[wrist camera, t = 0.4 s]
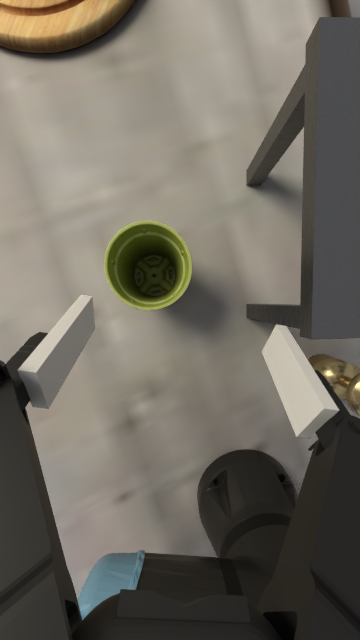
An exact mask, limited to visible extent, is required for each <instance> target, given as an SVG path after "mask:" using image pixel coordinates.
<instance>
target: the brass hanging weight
mask: <svg viewBox="0 0 360 640" xmlns="http://www.w3.org/2000/svg"><path fill="white" fill-rule="evenodd" d="M308 361H309V363H310V365H311V366H312V368H313V369H314V370H318V371H319V372H320V373H321V374H322V375H323V376H325V378H326V379H327V381H328V382H329V384H330V386H331V387H332V388H333V390H334V392H335V393H336V394H337V396H338V397H339V399H340V400H347V402H348V405H349V406H350V408H351V409H352V410H353V411H354V412H355V413H357V414H359V415H360V369H359V368H358V367H357V366H356V365H353V364H351V363H348V362H345V361H342V360H339V359H336V358H333V357H330V356H328V355H325V354H317V355H314V356H312V357H311V358H310V359H309V360H308Z"/></svg>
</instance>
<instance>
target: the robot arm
mask: <svg viewBox="0 0 360 640" xmlns="http://www.w3.org/2000/svg"><path fill="white" fill-rule="evenodd" d="M94 329H95V321H94V310H93V298H92V296H86V295H80V296H79V298H78V299H77V300H76V301H75V302H74V303H73V305H72V306H71V307H70V308H69V309H68V311H67V312H66V313H65V314H64V315H63V317H62V318H61V319H60V320H59V321H58V322H57V324H56V325H55V326H54V327H53V328H52V330H51V331H50V332H49V333H42V332H39V333H37V334H36V335H34V336H32V337H30V338H29V339H28V341H27V342H26V343H25V344H24V346H22V347H21V348H20V349H19V351H17V352H16V354H15V355H14V356H13V357H12V358H11V359H10V360H9V361H8V362H7V363H6V364H5V363H4V362H3V361H0V640H360V419H359V418H357V417H355V416H351V415H350V414H349V412H348V411H347V409H346V408H345V406H344V405H343V403H342V402H341V400H340V399H339V397H338V396H337V394H336V393H335V392H334V390H333V388H332V387H331V386H330V384H329V382H328V381H327V379H326V378H325V376H323V375H322V374H321V373H320V372H319V371H318V370H314V369H313V368H312V366H311V365H310V363H309V361H308V360H307V358H306V357H305V355H304V353H303V352H302V350H301V349H300V347H299V346H298V344H297V342H296V341H295V339H294V338H293V336H292V334H291V333H290V331H289V330H288V328H287V326H283V325H276V326H275V328H274V330H273V331H272V333H271V335H270V337H269V339H268V341H267V343H266V345H265V346H264V348H263V350H262V354H263V356H264V359H265V361H266V364H267V366H268V368H269V371H270V373H271V376H272V378H273V381H274V383H275V386H276V388H277V391H278V393H279V395H280V398H281V400H282V403H283V405H284V408H285V410H286V413H287V415H288V418H289V420H290V422H291V425H292V427H293V430H294V432H295V435H296V437H302V438H311V437H312V436H313V435H314V434H315V433H316V434H317V436H318V438H319V439H318V440H317V441H316V442H315V443H314V444H313V445H312V446H310V448H309V449H308V450H310V451H311V450H312V449H313V448H314V449H313V452H312V455H311V458H310V462H309V465H308V468H307V471H306V474H305V477H304V480H303V484H302V487H301V490H300V493H299V496H298V497H297V494H296V490H295V488H294V485H293V483H292V481H291V479H290V478H289V476H288V475H287V473H286V472H285V470H284V469H283V467H282V466H281V465H280V464H279V463H278V462H277V461H276V460H275V459H274V458H272V457H271V456H269V455H267V454H265V453H262V452H259V451H255V450H237V451H233V452H230V453H227V454H225V455H223V456H221V457H219V458H218V459H216V460H215V461H214V462H213V463H212V464H211V465H210V466H209V467H208V468H207V469H206V471H205V472H204V474H203V475H202V477H201V480H200V482H199V486H198V493H197V498H198V507H199V514H200V518H201V522H202V524H203V527H204V529H205V531H206V533H207V535H208V538H209V540H210V542H211V544H212V546H213V548H214V551H215V553H216V555H217V557H218V558H215V557H201V556H186V555H170V554H155V553H145V551H143V550H140V551H138V552H137V553H111V554H107V555H105V556H103V557H102V558H101V559H100V560H99V561H98V562H97V563H96V564H95V565H94V567H93V569H92V570H91V572H90V574H89V576H88V578H87V580H86V582H85V584H84V586H83V589H82V591H81V593H80V596H79V598H78V601H77V597H76V593H75V590H74V586H73V583H72V580H71V577H70V574H69V571H68V568H67V565H66V562H65V558H64V554H63V550H62V546H61V542H60V539H59V535H58V531H57V527H56V523H55V519H54V515H53V512H52V508H51V504H50V500H49V496H48V492H47V488H46V485H45V481H44V477H43V473H42V469H41V465H40V461H39V458H38V454H37V450H36V446H35V442H34V438H33V434H32V431H31V427H30V423H29V419H28V415H27V411H26V409H25V407H26V405H27V404H28V403H29V401H30V402H31V404H32V406H33V407H37V408H46V409H49V407H50V405H51V404H52V402H53V400H54V398H55V397H56V395H57V393H58V392H59V390H60V388H61V386H62V385H63V383H64V381H65V379H66V378H67V376H68V374H69V372H70V371H71V369H72V367H73V365H74V364H75V362H76V360H77V359H78V357H79V355H80V353H81V352H82V350H83V348H84V346H85V345H86V343H87V341H88V339H89V338H90V336H91V334H92V333H93V331H94Z"/></svg>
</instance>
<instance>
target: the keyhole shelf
mask: <svg viewBox="0 0 360 640" xmlns="http://www.w3.org/2000/svg"><path fill="white" fill-rule="evenodd" d="M303 127H304V161H303V208H302V256H301V304H300V305H288V304H247V318H251V319H256V320H261V321H265V322H270V323H275V324H279V325H284V326H289V327H293V328H298V329H300V336H301V337H304V338H308V339H342V338H360V18H343V17H320V18H319V20H318V22H317V23H316V25H315V27H314V29H313V31H312V33H311V35H310V37H309V39H308V41H307V43H306V64H305V66H304V68H303V69H302V71H301V73H300V75H299V77H298V79H297V80H296V82H295V84H294V86H293V88H292V89H291V91H290V93H289V95H288V97H287V98H286V100H285V102H284V104H283V106H282V108H281V109H280V111H279V113H278V115H277V117H276V118H275V120H274V122H273V124H272V126H271V127H270V129H269V131H268V133H267V135H266V136H265V138H264V140H263V142H262V144H261V146H260V147H259V149H258V151H257V153H256V155H255V156H254V158H253V160H252V162H251V164H250V165H249V167H248V169H247V185H261V184H262V182H263V181H264V180H265V178H266V177H267V176H268V174H269V173H270V172H271V170H272V169H273V168H274V166H275V165H276V163H277V162H278V161H279V159H280V158H281V157H282V155H283V154H284V153H285V151H286V150H287V149H288V147H289V146H290V145H291V143H292V142H293V140H294V139H295V138H296V136H297V135H298V134H299V132H300V131H301V130H302V128H303Z"/></svg>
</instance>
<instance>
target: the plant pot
mask: <svg viewBox="0 0 360 640" xmlns="http://www.w3.org/2000/svg"><path fill="white" fill-rule="evenodd" d="M151 258H156V259H157V261H154V260H152V261H148V260H149V259H151ZM169 270H171V271H172V279H170V273H169ZM104 271H105V276H106V279H107V282H108V284H109V286H110V288H111V289H112V291H113V292H114V294H115V295H116V296H117V297H118V298H119V299H120V300H121V301H123V302H124V303H126V304H127V305H129V306H131V307H134V308H137V309H141V310H158V309H162V308H165V307H167V306H169V305H171V304H173V303H174V302H175V301H177V300H178V299H179V298H180V297H181V296H182V295H183V294H184V292H185V291H186V289H187V287H188V285H189V283H190V280H191V276H192V259H191V254H190V251H189V249H188V247H187V245H186V243H185V241H184V240H183V238H182V237H181V236H180V235H179V234H178V233H177V232H176V231H175V230H174V229H172V228H171V227H169V226H168V225H166V224H163V223H160V222H156V221H138V222H134V223H132V224H129V225H127V226H126V227H124V228H122V229H121V230H120V231H119V232H118V233H117V234H116V235H115V236H114V237H113V238H112V240H111V241H110V243H109V245H108V247H107V249H106V253H105V258H104ZM138 273H140V282H139V281H138V279H137V274H138ZM153 274H156V277H153ZM159 290H161V292H160V293H156V294H154V293H152V291H159Z"/></svg>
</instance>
